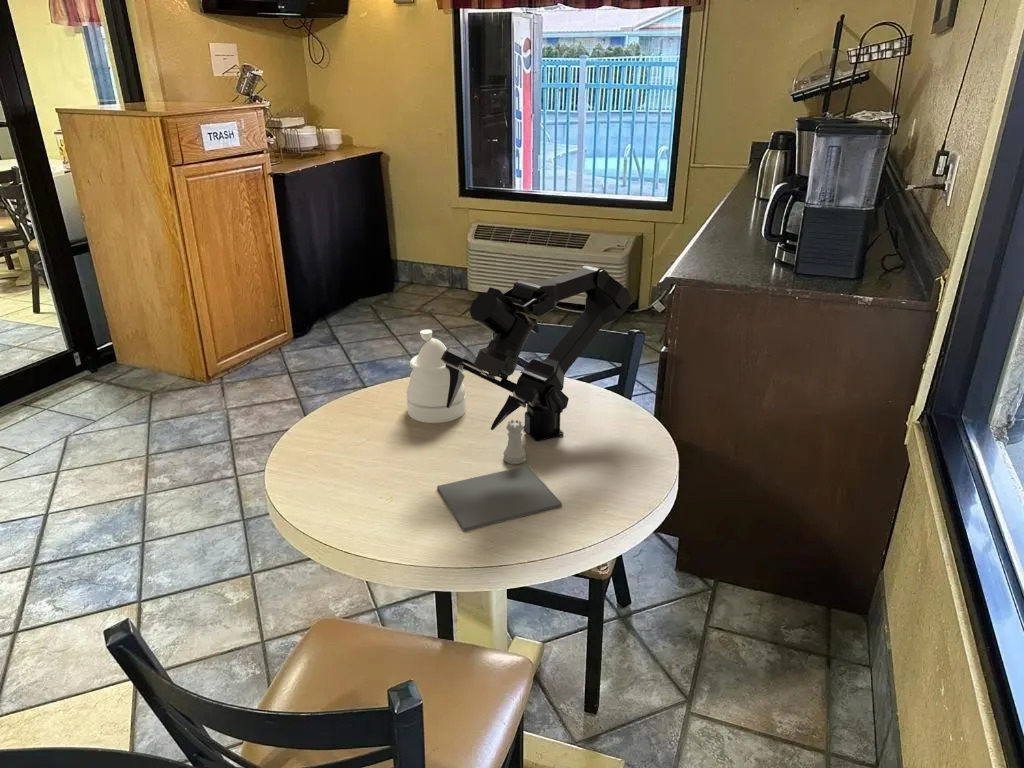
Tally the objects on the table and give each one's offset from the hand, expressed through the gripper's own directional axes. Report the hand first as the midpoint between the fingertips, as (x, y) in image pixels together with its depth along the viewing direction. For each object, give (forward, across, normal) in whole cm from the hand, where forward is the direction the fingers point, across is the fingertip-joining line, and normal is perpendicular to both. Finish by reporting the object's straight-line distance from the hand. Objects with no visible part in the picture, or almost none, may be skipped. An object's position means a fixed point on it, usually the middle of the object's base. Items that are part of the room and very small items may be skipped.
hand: (469, 418), depth 131 cm
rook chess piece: (+3, +10, +9) cm, 14 cm away
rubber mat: (+10, +12, -2) cm, 16 cm away
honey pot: (+1, -13, +26) cm, 29 cm away
